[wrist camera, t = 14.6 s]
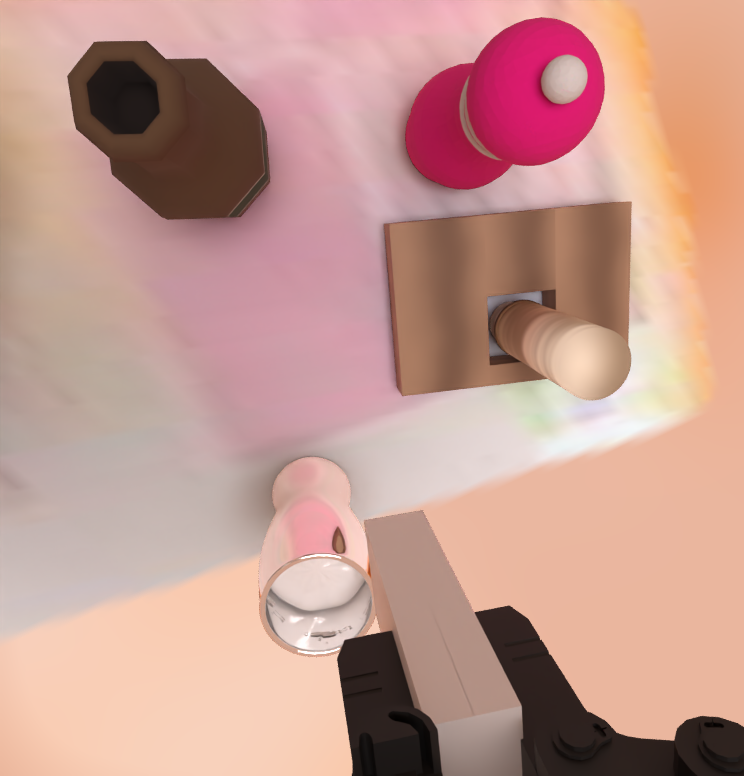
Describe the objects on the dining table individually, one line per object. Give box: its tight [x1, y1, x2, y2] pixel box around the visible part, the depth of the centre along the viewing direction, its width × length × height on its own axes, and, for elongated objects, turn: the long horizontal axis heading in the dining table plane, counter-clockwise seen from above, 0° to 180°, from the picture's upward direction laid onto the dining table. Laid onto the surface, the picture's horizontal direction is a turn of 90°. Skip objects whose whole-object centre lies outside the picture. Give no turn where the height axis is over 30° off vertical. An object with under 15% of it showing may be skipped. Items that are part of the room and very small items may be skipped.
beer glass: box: [259, 457, 376, 657], centre depth 42 cm, size 7×7×15 cm
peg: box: [490, 300, 631, 400], centre depth 41 cm, size 4×4×14 cm
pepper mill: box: [405, 17, 605, 189], centre depth 34 cm, size 7×7×20 cm
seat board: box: [384, 202, 632, 396], centre depth 46 cm, size 17×12×2 cm
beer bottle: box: [67, 41, 270, 220], centre depth 31 cm, size 8×8×24 cm
